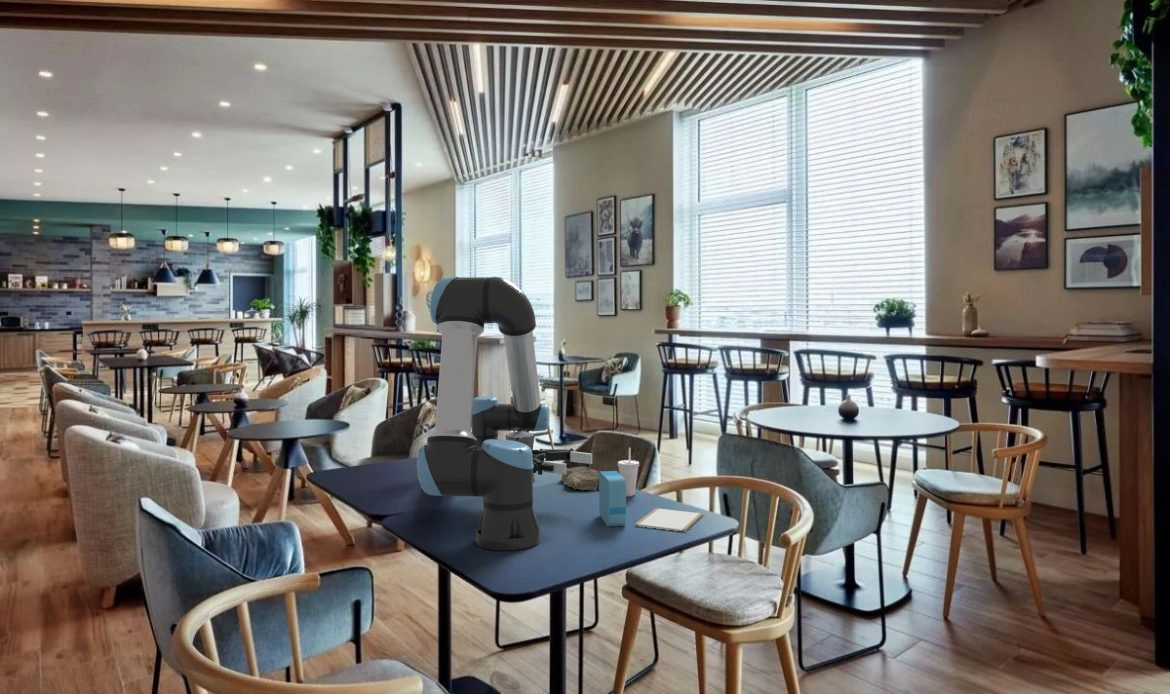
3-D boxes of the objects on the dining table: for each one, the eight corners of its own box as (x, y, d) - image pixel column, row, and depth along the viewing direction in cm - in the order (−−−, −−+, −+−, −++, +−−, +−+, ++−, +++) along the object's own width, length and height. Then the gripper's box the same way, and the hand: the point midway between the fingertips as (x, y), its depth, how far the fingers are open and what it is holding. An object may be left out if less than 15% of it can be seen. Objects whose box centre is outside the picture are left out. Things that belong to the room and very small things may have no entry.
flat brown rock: (554, 479, 235) (571, 492, 216) (554, 464, 235) (571, 476, 216) (595, 477, 239) (615, 490, 220) (595, 462, 239) (616, 474, 220)
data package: (626, 527, 180) (626, 479, 180) (608, 528, 179) (608, 480, 179) (615, 514, 192) (615, 469, 191) (599, 515, 191) (599, 470, 191)
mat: (685, 532, 176) (685, 529, 176) (635, 526, 181) (635, 523, 181) (703, 515, 190) (703, 513, 190) (656, 510, 195) (656, 507, 195)
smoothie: (627, 498, 208) (626, 450, 208) (613, 494, 213) (613, 447, 213) (643, 495, 212) (643, 448, 211) (629, 491, 217) (629, 444, 217)
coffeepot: (532, 486, 223) (532, 428, 223) (502, 486, 224) (501, 428, 223) (538, 475, 239) (537, 421, 238) (509, 475, 239) (509, 421, 238)
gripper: (537, 460, 212) (601, 468, 201) (485, 478, 190) (554, 488, 180) (537, 434, 211) (601, 441, 201) (485, 450, 190) (553, 459, 179)
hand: (579, 463), depth 190 cm, fingers open, 13 cm apart
